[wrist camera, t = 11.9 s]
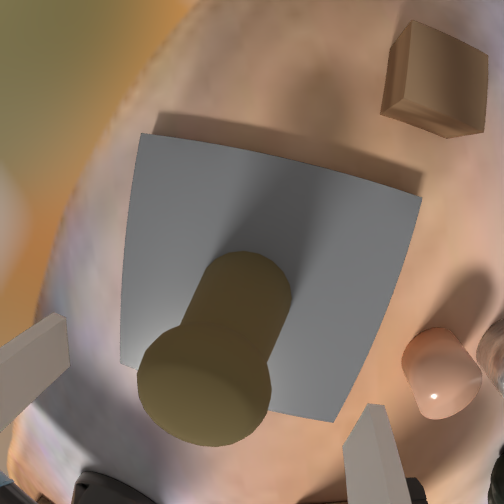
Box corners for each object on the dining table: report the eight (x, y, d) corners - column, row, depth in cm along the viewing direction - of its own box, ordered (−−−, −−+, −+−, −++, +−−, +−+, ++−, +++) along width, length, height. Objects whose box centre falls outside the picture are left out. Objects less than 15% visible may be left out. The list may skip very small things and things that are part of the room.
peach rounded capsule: (391, 376, 22) (406, 417, 17) (417, 322, 20) (441, 358, 16) (439, 382, 21) (459, 420, 17) (466, 332, 20) (493, 365, 15)
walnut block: (379, 114, 17) (403, 98, 13) (389, 49, 16) (412, 19, 11) (446, 138, 17) (483, 132, 12) (453, 74, 16) (488, 55, 11)
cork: (302, 326, 20) (297, 461, 9) (217, 344, 21) (158, 465, 11) (276, 239, 19) (244, 327, 8) (185, 264, 20) (86, 353, 10)
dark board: (128, 354, 25) (120, 363, 23) (151, 134, 20) (141, 132, 18) (332, 410, 23) (333, 422, 22) (414, 195, 18) (422, 197, 17)
